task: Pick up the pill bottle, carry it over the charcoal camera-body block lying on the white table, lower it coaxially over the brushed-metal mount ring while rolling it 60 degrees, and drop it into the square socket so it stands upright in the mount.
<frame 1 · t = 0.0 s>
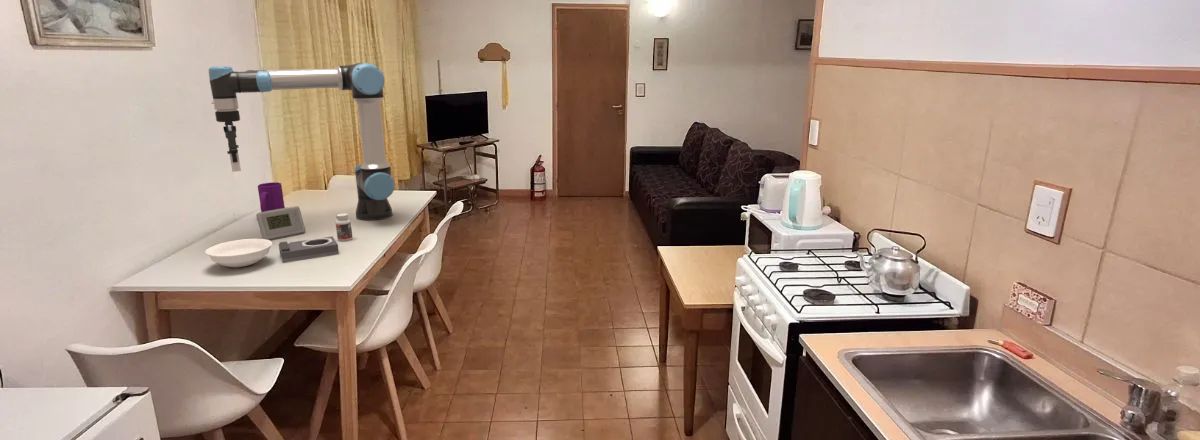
hand: (236, 168, 235), 28 cm above the table, fingers open, 13 cm apart
pill bottle: (345, 239, 243), on the table
camera body: (309, 253, 226), on the table
mug: (271, 220, 273), on the table
bowl: (242, 265, 215), on the table
digital clock: (283, 236, 249), on the table
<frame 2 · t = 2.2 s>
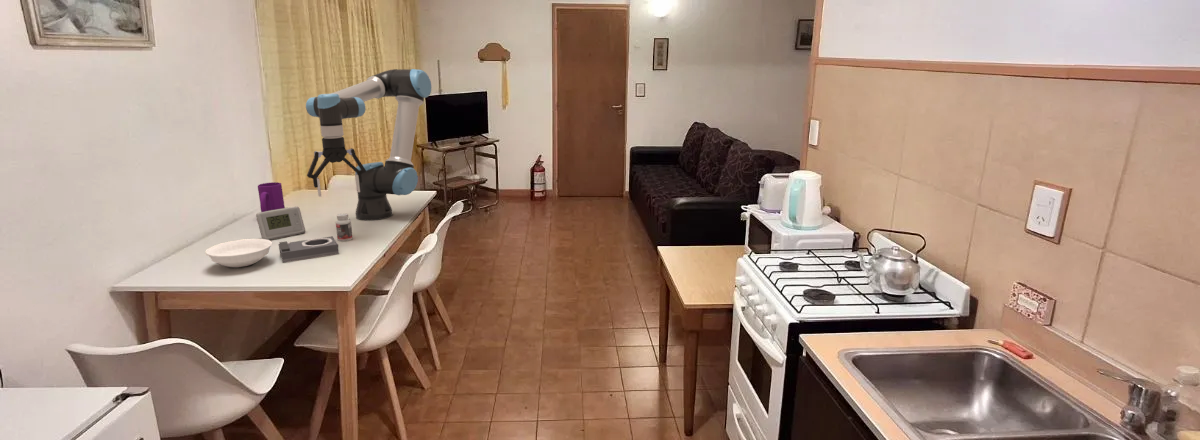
hand: (339, 193, 238), 18 cm above the table, fingers open, 13 cm apart
nothing on the table moved.
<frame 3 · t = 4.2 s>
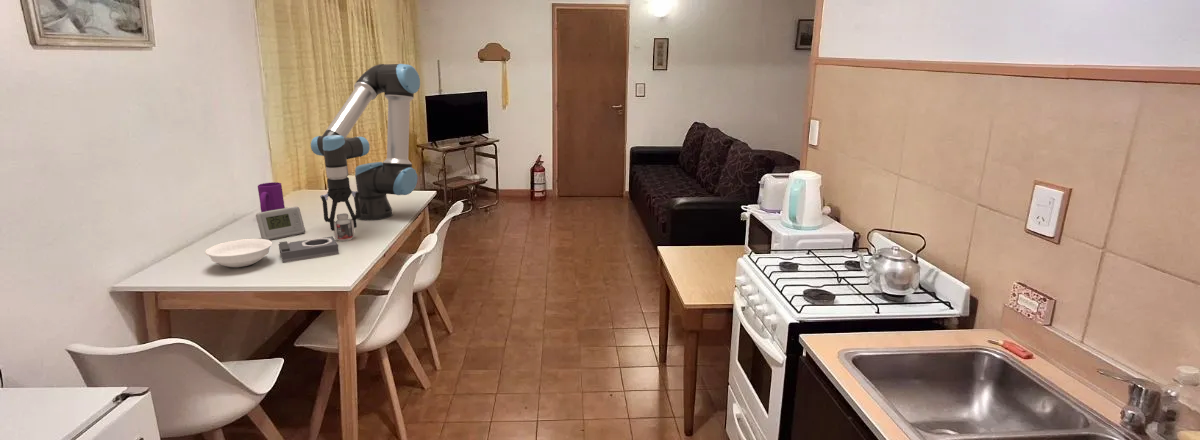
hand: (345, 237, 243), 1 cm above the table, fingers closed on pill bottle, 5 cm apart
pill bottle: (345, 239, 243), on the table, touching gripper
everything else where it was.
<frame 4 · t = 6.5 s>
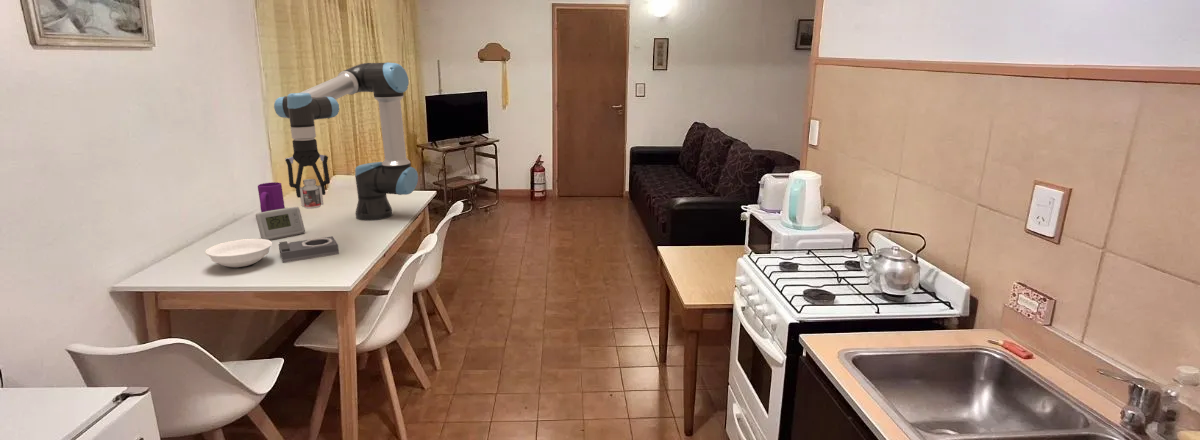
hand: (312, 205, 224), 17 cm above the table, fingers closed on pill bottle, 5 cm apart
pill bottle: (312, 207, 224), point 16 cm above the table, touching gripper
everything else where it was.
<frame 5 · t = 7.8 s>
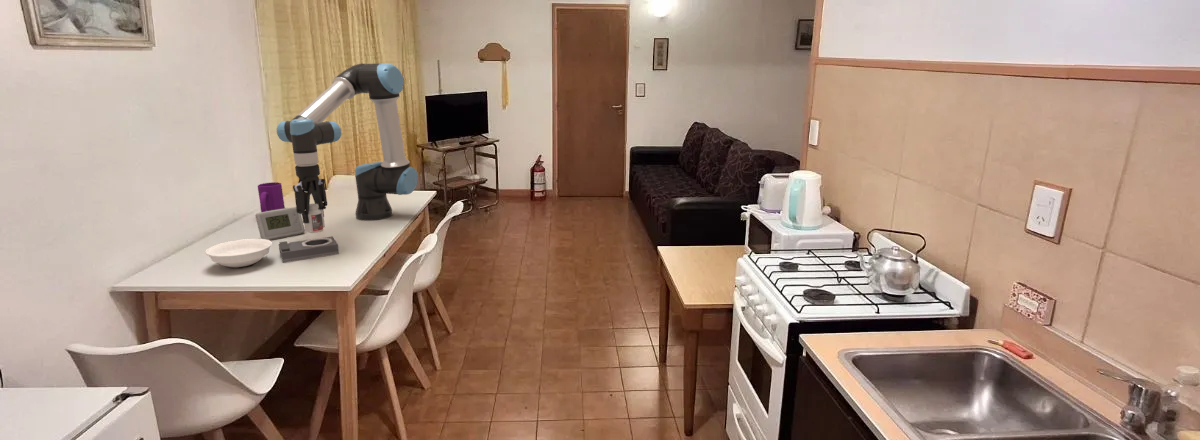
hand: (315, 229, 225), 9 cm above the table, fingers closed on pill bottle, 5 cm apart
pill bottle: (315, 232, 226), point 8 cm above the table, touching gripper
everything else where it was.
when the fingers open (5 cm above the table, at t = 8.7 s): pill bottle drops 3 cm, resting on camera body.
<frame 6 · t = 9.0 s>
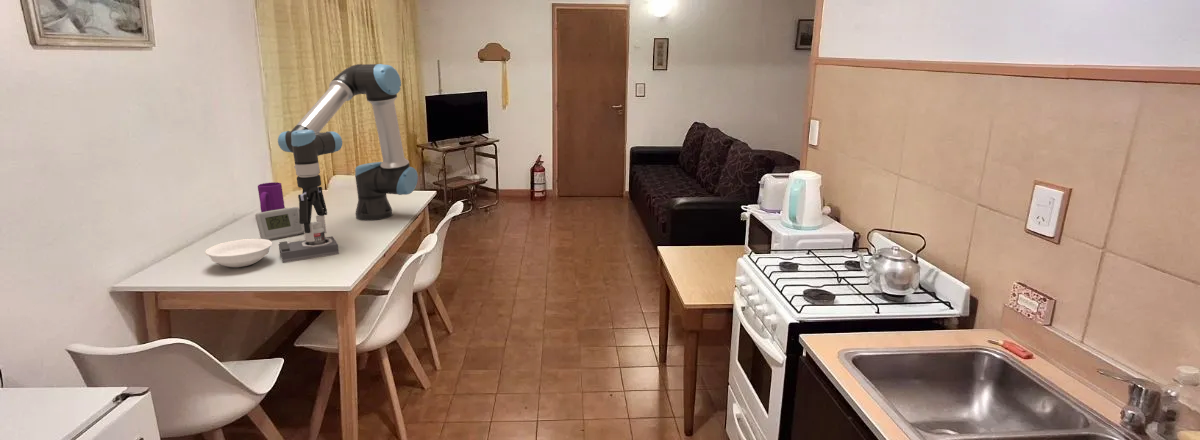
hand: (316, 237, 226), 6 cm above the table, fingers open, 9 cm apart
pill bottle: (318, 249, 228), point 1 cm above the table, touching camera body
everything else where it was.
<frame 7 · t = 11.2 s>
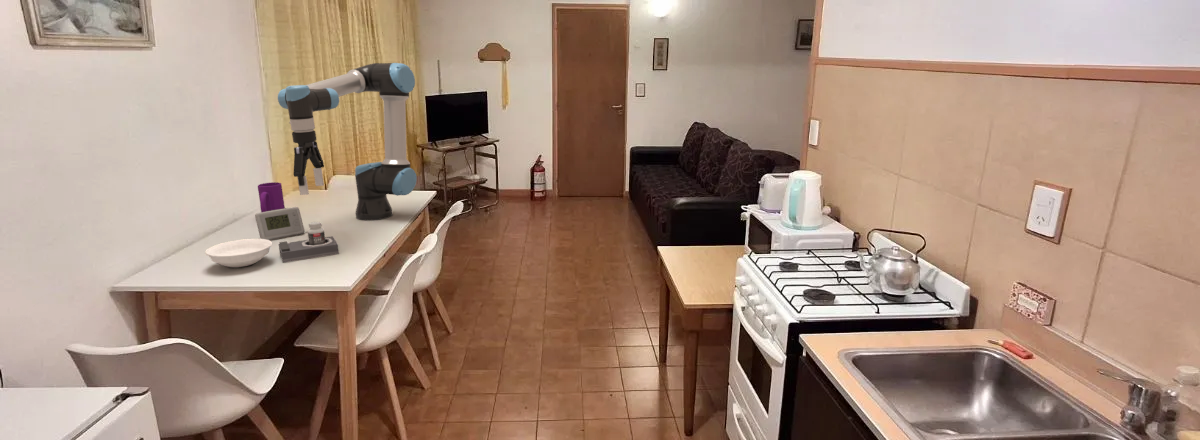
hand: (312, 190, 228), 21 cm above the table, fingers open, 13 cm apart
nothing on the table moved.
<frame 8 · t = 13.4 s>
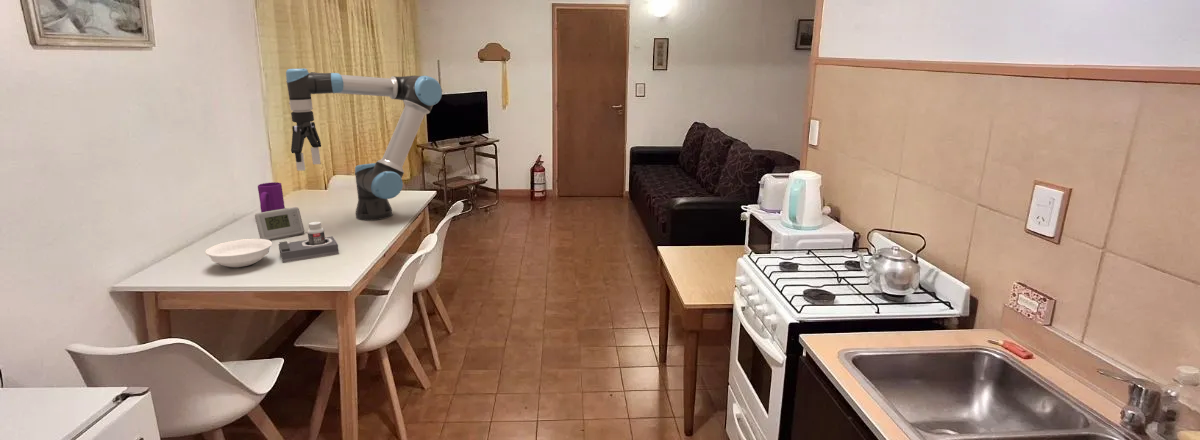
hand: (309, 167, 243), 27 cm above the table, fingers open, 13 cm apart
at the end: pill bottle 0.2 cm from the target spot on the camera body, point 0.8 cm above the camera body's base; pill bottle tilted 0°; the gripper is holding nothing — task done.
